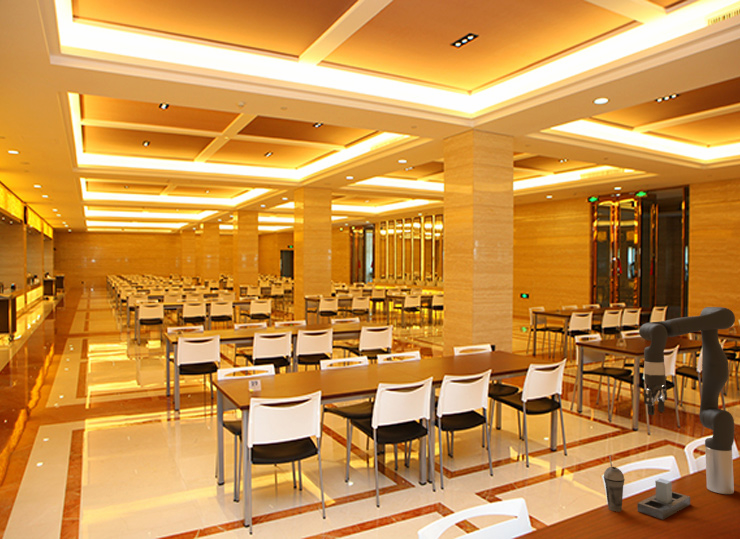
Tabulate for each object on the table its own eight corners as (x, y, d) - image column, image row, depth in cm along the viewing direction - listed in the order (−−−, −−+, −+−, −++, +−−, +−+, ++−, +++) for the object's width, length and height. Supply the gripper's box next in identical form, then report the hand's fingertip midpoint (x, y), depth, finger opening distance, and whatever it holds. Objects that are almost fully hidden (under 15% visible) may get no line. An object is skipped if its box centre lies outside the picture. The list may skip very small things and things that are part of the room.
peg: (661, 504, 196) (660, 478, 196) (672, 508, 192) (671, 481, 193) (656, 507, 193) (655, 480, 194) (667, 510, 190) (666, 483, 190)
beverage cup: (628, 514, 188) (626, 459, 189) (607, 512, 189) (605, 458, 190) (622, 505, 195) (620, 453, 196) (602, 504, 196) (600, 452, 197)
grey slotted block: (665, 497, 203) (665, 489, 203) (690, 504, 195) (690, 496, 195) (637, 511, 190) (637, 503, 190) (662, 519, 183) (662, 511, 183)
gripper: (653, 369, 213) (655, 408, 212) (636, 373, 205) (638, 414, 204) (672, 372, 207) (674, 412, 206) (655, 375, 199) (657, 417, 198)
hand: (656, 413), depth 205 cm, fingers open, 8 cm apart
